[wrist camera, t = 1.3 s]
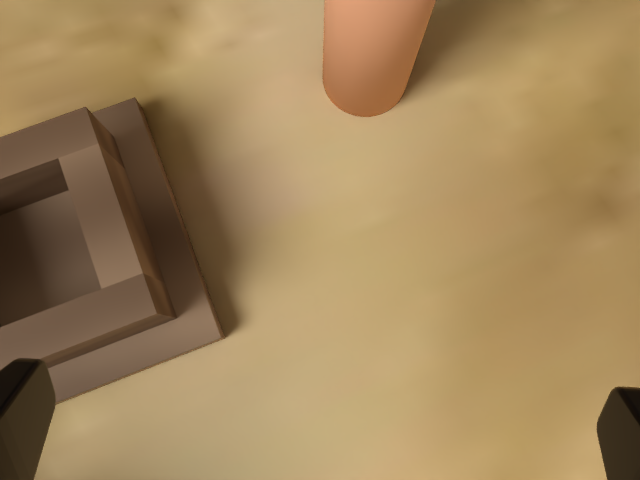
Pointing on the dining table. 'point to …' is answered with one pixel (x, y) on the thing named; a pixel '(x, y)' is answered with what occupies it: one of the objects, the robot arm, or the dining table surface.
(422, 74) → the dining table surface
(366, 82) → the peg
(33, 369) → the robot arm
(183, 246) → the socket block
